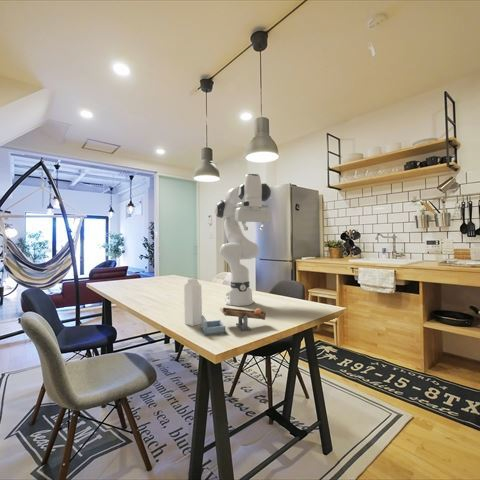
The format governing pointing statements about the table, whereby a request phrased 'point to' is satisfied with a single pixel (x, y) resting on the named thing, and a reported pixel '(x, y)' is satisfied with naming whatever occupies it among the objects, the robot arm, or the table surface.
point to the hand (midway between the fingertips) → (253, 230)
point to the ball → (258, 311)
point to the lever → (242, 313)
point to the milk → (193, 302)
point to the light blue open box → (212, 327)
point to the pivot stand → (243, 325)
